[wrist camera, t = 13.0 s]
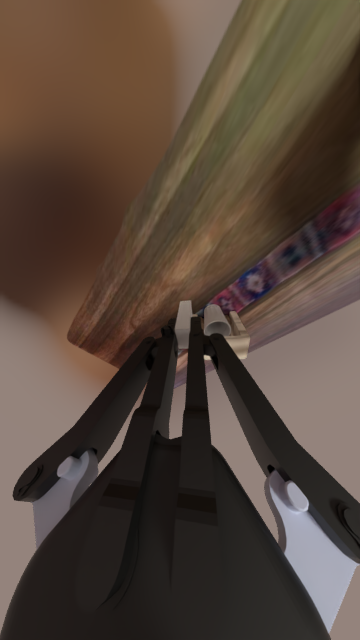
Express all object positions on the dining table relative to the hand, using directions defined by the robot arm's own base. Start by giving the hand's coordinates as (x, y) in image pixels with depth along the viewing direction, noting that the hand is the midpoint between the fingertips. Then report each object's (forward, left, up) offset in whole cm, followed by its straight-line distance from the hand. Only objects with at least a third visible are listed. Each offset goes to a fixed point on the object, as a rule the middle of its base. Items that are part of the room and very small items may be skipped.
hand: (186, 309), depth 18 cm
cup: (+16, +7, -27) cm, 32 cm away
